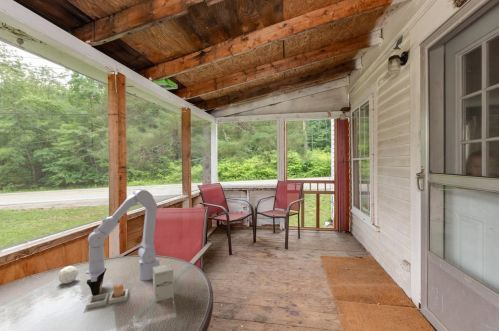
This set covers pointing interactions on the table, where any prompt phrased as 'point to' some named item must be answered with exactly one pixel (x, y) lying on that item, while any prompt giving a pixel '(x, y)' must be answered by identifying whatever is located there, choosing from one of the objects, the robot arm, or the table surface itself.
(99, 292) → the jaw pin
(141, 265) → the robot arm
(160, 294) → the supplement box
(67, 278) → the ball
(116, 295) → the jaw pin
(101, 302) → the housing
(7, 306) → the table surface
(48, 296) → the table surface
